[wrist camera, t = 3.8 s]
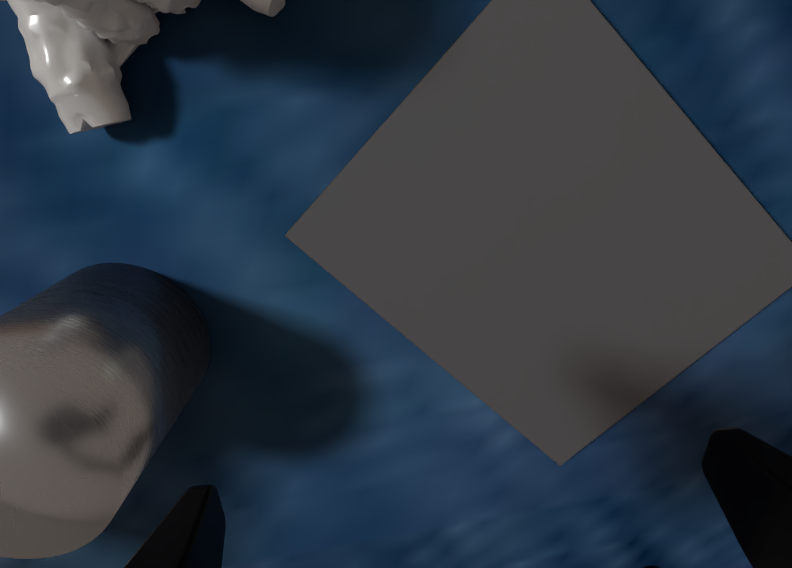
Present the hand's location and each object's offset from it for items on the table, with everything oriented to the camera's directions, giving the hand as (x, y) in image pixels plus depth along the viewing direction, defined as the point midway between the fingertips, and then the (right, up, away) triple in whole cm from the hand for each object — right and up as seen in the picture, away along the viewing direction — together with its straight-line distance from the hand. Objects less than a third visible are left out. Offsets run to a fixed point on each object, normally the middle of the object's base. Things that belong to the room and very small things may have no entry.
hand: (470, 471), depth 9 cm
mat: (+5, +5, +12) cm, 13 cm away
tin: (-13, +1, +13) cm, 18 cm away
